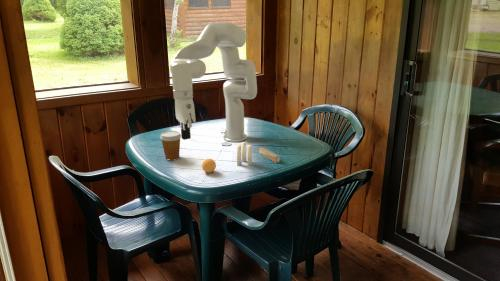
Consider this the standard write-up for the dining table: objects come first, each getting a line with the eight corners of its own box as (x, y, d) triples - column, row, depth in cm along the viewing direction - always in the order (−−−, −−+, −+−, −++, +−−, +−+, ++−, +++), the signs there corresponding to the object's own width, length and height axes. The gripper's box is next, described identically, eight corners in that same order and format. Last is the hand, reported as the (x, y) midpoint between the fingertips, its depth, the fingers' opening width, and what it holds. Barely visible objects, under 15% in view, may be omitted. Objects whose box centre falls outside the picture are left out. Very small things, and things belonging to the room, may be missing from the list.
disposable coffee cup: (163, 154, 195) (161, 131, 191) (183, 153, 196) (181, 130, 192) (160, 162, 186) (158, 137, 183) (181, 161, 187) (180, 136, 183)
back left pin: (241, 161, 186) (240, 143, 183) (243, 160, 187) (243, 141, 184) (245, 162, 185) (244, 143, 182) (247, 160, 186) (246, 142, 184)
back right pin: (246, 165, 182) (246, 146, 179) (249, 163, 183) (248, 144, 180) (250, 165, 181) (250, 146, 178) (252, 164, 182) (252, 145, 179)
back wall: (275, 162, 184) (275, 156, 183) (259, 153, 195) (259, 147, 194) (279, 162, 185) (279, 155, 184) (262, 152, 196) (262, 147, 195)
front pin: (236, 165, 182) (235, 146, 179) (238, 163, 183) (238, 144, 180) (240, 166, 181) (239, 147, 178) (242, 164, 182) (242, 145, 180)
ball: (199, 173, 174) (198, 160, 172) (207, 168, 179) (206, 155, 177) (211, 175, 171) (210, 162, 169) (218, 170, 176) (218, 158, 174)
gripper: (200, 96, 154) (202, 142, 160) (184, 89, 167) (187, 132, 173) (181, 99, 151) (184, 145, 157) (167, 91, 163) (170, 135, 169)
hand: (186, 138), depth 165 cm, fingers closed
